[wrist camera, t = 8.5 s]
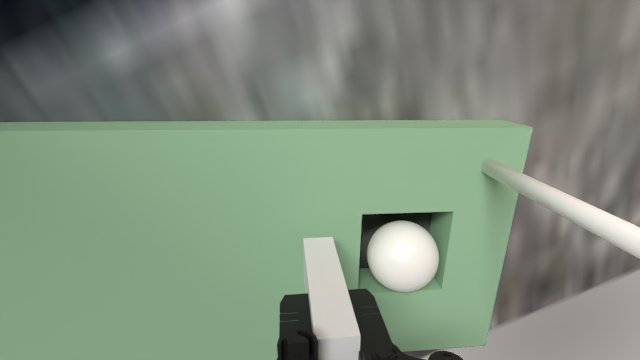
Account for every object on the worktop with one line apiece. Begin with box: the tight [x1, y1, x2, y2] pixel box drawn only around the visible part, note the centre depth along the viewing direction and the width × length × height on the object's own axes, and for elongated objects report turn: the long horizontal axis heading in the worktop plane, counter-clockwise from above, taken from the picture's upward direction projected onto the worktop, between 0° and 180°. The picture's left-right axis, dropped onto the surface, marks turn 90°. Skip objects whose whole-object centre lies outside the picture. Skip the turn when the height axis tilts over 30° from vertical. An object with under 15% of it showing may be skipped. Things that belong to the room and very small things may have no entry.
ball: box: [367, 220, 439, 292], centre depth 19 cm, size 4×4×4 cm
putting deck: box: [0, 120, 640, 360], centre depth 14 cm, size 31×14×12 cm, turn 89°
